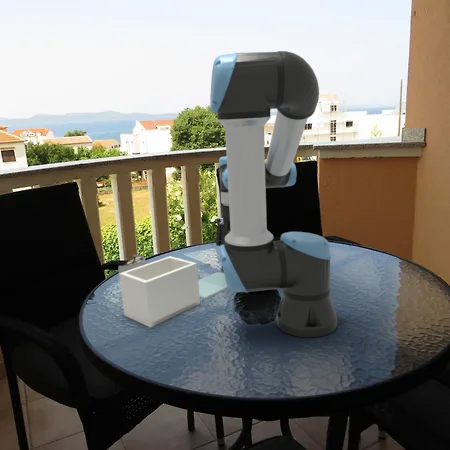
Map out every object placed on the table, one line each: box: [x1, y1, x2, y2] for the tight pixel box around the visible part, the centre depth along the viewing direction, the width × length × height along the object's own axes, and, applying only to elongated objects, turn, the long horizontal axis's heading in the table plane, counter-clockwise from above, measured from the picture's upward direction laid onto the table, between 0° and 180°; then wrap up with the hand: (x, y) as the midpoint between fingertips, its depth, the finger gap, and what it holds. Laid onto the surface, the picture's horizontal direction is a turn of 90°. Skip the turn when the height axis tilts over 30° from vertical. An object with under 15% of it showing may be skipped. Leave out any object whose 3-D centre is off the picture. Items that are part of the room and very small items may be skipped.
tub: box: [118, 255, 201, 328], centre depth 116 cm, size 12×18×12 cm, turn 137°
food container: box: [117, 254, 147, 274], centre depth 133 cm, size 12×6×10 cm, turn 168°
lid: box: [198, 271, 229, 301], centre depth 134 cm, size 12×24×7 cm, turn 137°
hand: (236, 268), depth 141 cm, fingers open, 8 cm apart
